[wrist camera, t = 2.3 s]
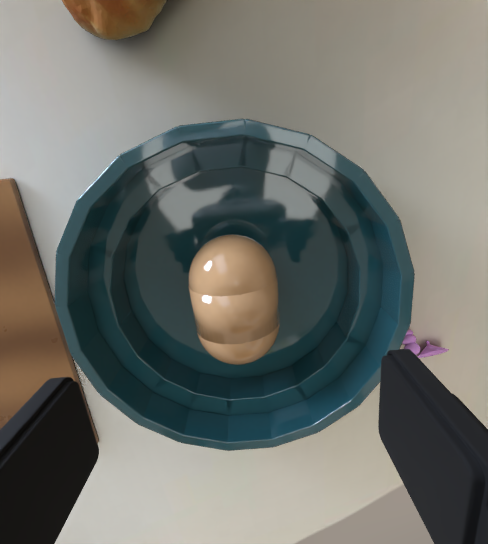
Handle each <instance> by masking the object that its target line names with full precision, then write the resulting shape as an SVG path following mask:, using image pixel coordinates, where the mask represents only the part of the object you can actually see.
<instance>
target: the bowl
mask: <svg viewBox="0 0 488 544" xmlns="http://www.w3.org/2000/svg"><path fill="white" fill-rule="evenodd" d="M226 234H238V235H244V236H247V237H250V238H252V239H254V240H255V241H257V242H259V243H260V244H261V245H262V246H263V247H264V248H265V249H266V250H267V251H268V253H269V254H270V256H271V257H272V259H273V261H274V264H275V267H276V272H277V283H278V298H279V312H280V329H279V333H278V336H277V339H276V341H275V343H274V345H273V347H272V348H271V349H270V350H269V351H268V352H267V353H266V354H265V355H264V356H263V357H262V358H260V359H258V360H256V361H254V362H252V363H249V364H245V365H231V364H227V363H223V362H221V361H218V360H217V359H215V358H214V357H212V356H211V355H210V354H209V353H208V352H207V351H206V350H205V349H204V348H203V346H202V344H201V343H200V341H199V338H198V335H197V332H196V327H195V321H194V315H193V309H192V303H191V297H190V292H189V286H188V274H189V268H190V264H191V262H192V259H193V257H194V256H195V254H196V253H197V251H198V250H199V249H200V248H201V247H202V246H203V245H204V244H205V243H207V242H208V241H210V240H211V239H213V238H215V237H218V236H221V235H226ZM56 252H57V253H56V274H55V305H56V306H55V308H56V311H57V314H58V317H59V321H60V324H61V327H62V330H63V333H64V336H65V339H66V342H67V345H68V348H69V351H70V353H71V356H72V357H73V358H74V360H75V361H76V363H77V364H78V365H79V367H80V368H81V370H82V371H83V372H84V374H85V375H86V377H87V378H88V379H89V381H90V382H91V384H92V385H93V386H94V388H95V389H96V390H97V392H98V393H100V395H101V396H102V397H103V398H105V399H106V400H107V401H109V402H110V403H111V404H112V405H114V406H115V407H116V408H117V409H119V410H120V411H121V412H122V413H124V414H125V415H126V416H128V417H129V418H130V419H131V420H133V421H134V422H135V423H137V424H138V425H141V426H143V427H145V428H148V429H150V430H152V431H154V432H157V433H159V434H161V435H164V436H166V437H168V438H171V439H173V440H175V441H177V442H181V443H184V444H190V445H196V446H202V447H208V448H214V449H220V450H227V451H230V450H244V449H257V448H270V447H276V446H279V445H282V444H285V443H288V442H291V441H294V440H297V439H300V438H303V437H306V436H309V435H312V434H315V433H318V432H320V431H321V430H323V429H325V428H326V427H328V426H329V425H331V424H332V423H334V422H335V421H337V420H338V419H340V418H341V417H343V416H345V415H346V414H348V413H349V412H351V411H352V410H354V409H355V408H357V407H358V406H359V405H360V404H361V403H362V402H363V401H364V400H365V399H366V397H367V396H368V395H369V394H370V393H371V392H372V391H373V389H374V388H375V387H376V386H377V385H378V384H379V383H380V379H381V359H382V356H387V352H388V351H389V350H399V349H400V347H401V345H402V342H403V340H404V338H405V335H406V333H407V331H408V329H409V326H410V323H411V311H412V299H413V287H414V275H415V274H414V269H413V265H412V261H411V258H410V254H409V250H408V247H407V243H406V240H405V236H404V232H403V229H402V225H401V221H400V219H399V217H398V216H397V214H396V213H395V212H394V210H393V209H392V207H391V206H390V205H389V203H388V202H387V201H386V199H385V198H384V196H383V195H382V194H381V192H380V191H379V190H378V188H377V187H376V185H375V184H374V183H373V181H372V180H371V179H370V177H369V176H368V174H367V173H366V172H365V171H364V169H362V168H361V167H359V166H358V165H356V164H355V163H353V162H352V161H350V160H349V159H347V158H346V157H344V156H343V155H341V154H340V153H338V152H337V151H335V150H334V149H332V148H331V147H329V146H328V145H326V144H325V143H323V142H322V141H320V140H319V139H317V138H316V137H314V136H313V135H309V134H307V133H303V132H299V131H295V130H291V129H286V128H282V127H278V126H274V125H270V124H266V123H262V122H258V121H253V120H249V119H236V120H226V121H217V122H208V123H199V124H190V125H180V126H178V127H174V128H172V129H170V130H168V131H166V132H164V133H162V134H160V135H158V136H156V137H154V138H152V139H150V140H148V141H146V142H144V143H142V144H140V145H138V146H136V147H134V148H132V149H130V150H128V151H126V152H124V153H122V154H120V156H118V157H117V158H116V159H115V160H114V161H113V162H112V163H111V164H110V165H109V166H108V167H107V168H106V169H105V171H104V172H103V173H102V174H101V175H100V176H99V177H98V178H97V179H96V180H95V181H94V182H93V183H92V184H91V186H90V187H89V188H88V189H87V190H86V191H85V192H84V193H83V194H82V195H81V196H80V197H79V199H78V200H77V201H76V204H75V206H74V209H73V211H72V214H71V216H70V219H69V221H68V224H67V226H66V229H65V231H64V234H63V236H62V238H61V241H60V243H59V246H58V248H57V251H56Z"/></svg>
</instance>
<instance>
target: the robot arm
mask: <svg viewBox="0 0 488 544" xmlns="http://www.w3.org/2000/svg"><path fill="white" fill-rule="evenodd" d="M379 434H380V437H381V440H382V442H383V444H384V446H385V448H386V450H387V452H388V454H389V456H390V458H391V460H392V462H393V463H394V465H395V467H396V469H397V471H398V473H399V475H400V477H401V479H402V481H403V483H404V485H405V487H406V489H407V491H408V493H409V495H410V497H411V499H412V501H413V503H414V505H415V506H416V509H417V511H418V512H419V515H420V516H421V518H422V520H423V522H424V524H425V526H426V528H427V530H428V532H429V534H430V536H431V538H432V540H433V542H434V544H488V429H487V428H486V427H485V426H484V425H483V424H482V423H481V422H480V421H479V420H478V419H477V418H476V417H475V415H474V414H473V413H472V412H471V411H470V410H469V409H468V408H467V407H466V406H465V405H464V404H463V403H462V402H461V401H460V400H459V399H458V398H457V397H456V396H455V395H454V394H451V393H450V391H449V390H448V389H447V388H446V387H445V386H444V385H443V384H442V383H441V382H440V381H439V380H438V379H437V378H436V376H435V375H434V374H433V373H432V372H431V371H430V370H429V369H428V368H427V367H426V366H425V365H424V364H423V363H422V361H421V360H420V359H419V358H418V357H417V356H416V355H415V354H414V353H413V352H412V351H411V350H410V349H399V350H389V351H388V352H387V356H382V359H381V379H380V403H379ZM98 455H99V448H98V444H97V441H96V438H95V435H94V431H93V428H92V425H91V422H90V419H89V415H88V412H87V409H86V406H85V402H84V399H83V396H82V393H81V389H80V386H79V384H78V382H76V381H74V380H73V379H72V378H71V377H61V378H51V379H49V380H47V381H46V382H45V383H44V384H43V385H42V386H41V387H40V389H39V390H38V391H37V392H36V393H35V394H34V395H33V396H32V397H31V398H30V399H29V400H28V401H27V402H26V403H25V404H24V405H23V406H22V407H21V408H20V410H19V411H18V412H17V413H16V414H15V415H14V416H13V417H12V418H11V419H10V420H9V421H8V422H7V423H6V424H5V425H4V426H3V427H2V428H1V429H0V544H54V543H55V541H56V539H57V538H58V536H59V534H60V532H61V530H62V528H63V526H64V524H65V522H66V520H67V518H68V516H69V514H70V512H71V510H72V508H73V506H74V504H75V503H76V501H77V499H78V497H79V495H80V493H81V491H82V489H83V487H84V485H85V483H86V481H87V479H88V477H89V475H90V473H91V471H92V469H93V468H94V466H95V464H96V462H97V459H98Z"/></svg>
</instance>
